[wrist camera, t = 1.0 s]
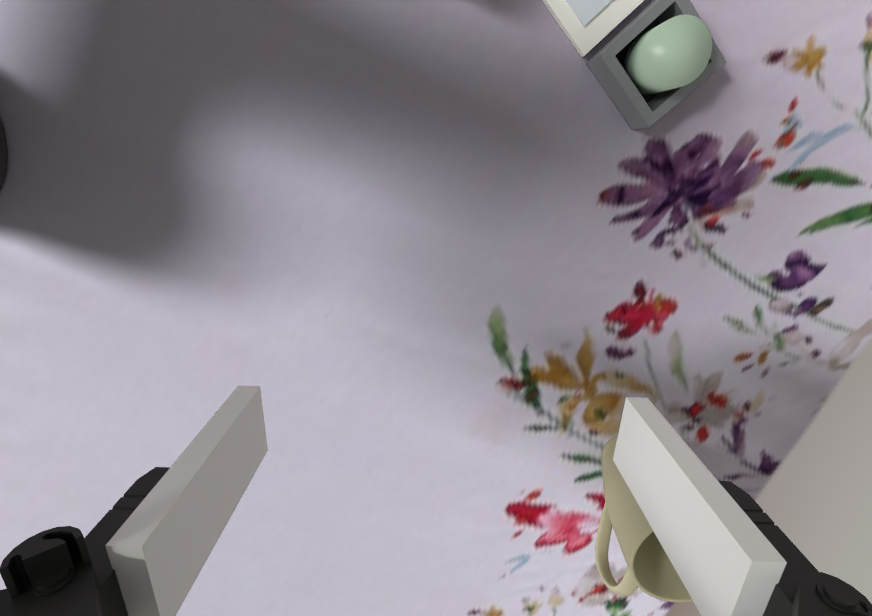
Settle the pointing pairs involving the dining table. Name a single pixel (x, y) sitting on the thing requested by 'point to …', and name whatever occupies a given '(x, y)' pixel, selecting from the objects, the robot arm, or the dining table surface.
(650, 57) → the button
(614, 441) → the mug
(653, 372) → the dining table surface
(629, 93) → the button housing
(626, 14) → the cream square board
